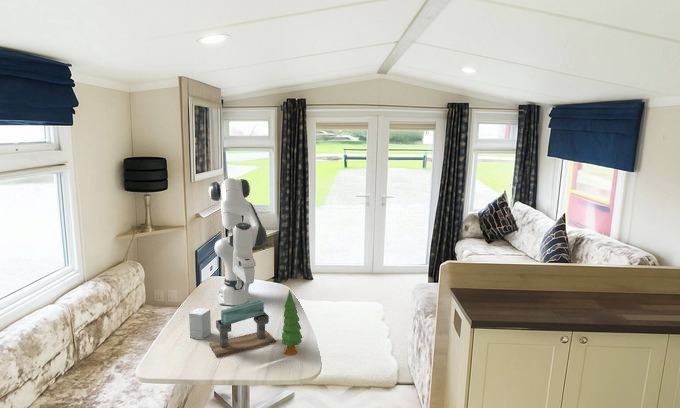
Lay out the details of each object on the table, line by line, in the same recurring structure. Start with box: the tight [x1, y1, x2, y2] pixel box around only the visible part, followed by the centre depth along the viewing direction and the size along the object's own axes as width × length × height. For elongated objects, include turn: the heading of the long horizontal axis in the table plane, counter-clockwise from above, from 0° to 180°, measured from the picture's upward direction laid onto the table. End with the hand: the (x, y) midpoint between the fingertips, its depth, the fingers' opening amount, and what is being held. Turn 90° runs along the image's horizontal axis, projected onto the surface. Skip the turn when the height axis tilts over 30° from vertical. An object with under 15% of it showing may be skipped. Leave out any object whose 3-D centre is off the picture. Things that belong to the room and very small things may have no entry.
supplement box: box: [188, 307, 212, 341], centre depth 202 cm, size 7×7×13 cm
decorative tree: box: [281, 289, 303, 356], centre depth 187 cm, size 10×9×30 cm
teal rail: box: [220, 299, 265, 326], centre depth 193 cm, size 4×20×6 cm, turn 133°
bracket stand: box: [208, 311, 276, 358], centre depth 194 cm, size 12×28×13 cm, turn 122°
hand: (242, 287), depth 194 cm, fingers open, 8 cm apart
